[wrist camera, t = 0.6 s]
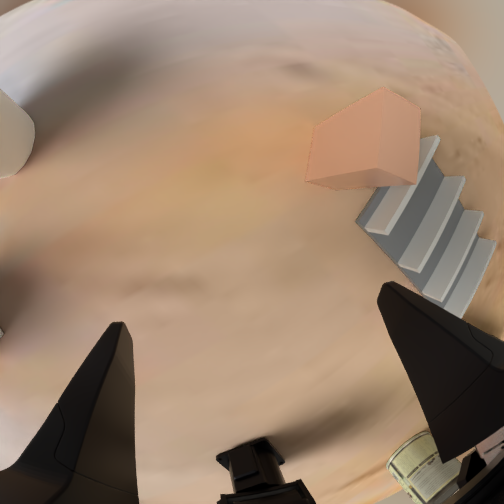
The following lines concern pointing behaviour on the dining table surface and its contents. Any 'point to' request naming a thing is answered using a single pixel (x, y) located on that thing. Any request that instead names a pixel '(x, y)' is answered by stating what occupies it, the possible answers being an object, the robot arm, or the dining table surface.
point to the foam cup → (14, 136)
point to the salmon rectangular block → (367, 144)
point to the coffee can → (424, 470)
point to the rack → (431, 233)
